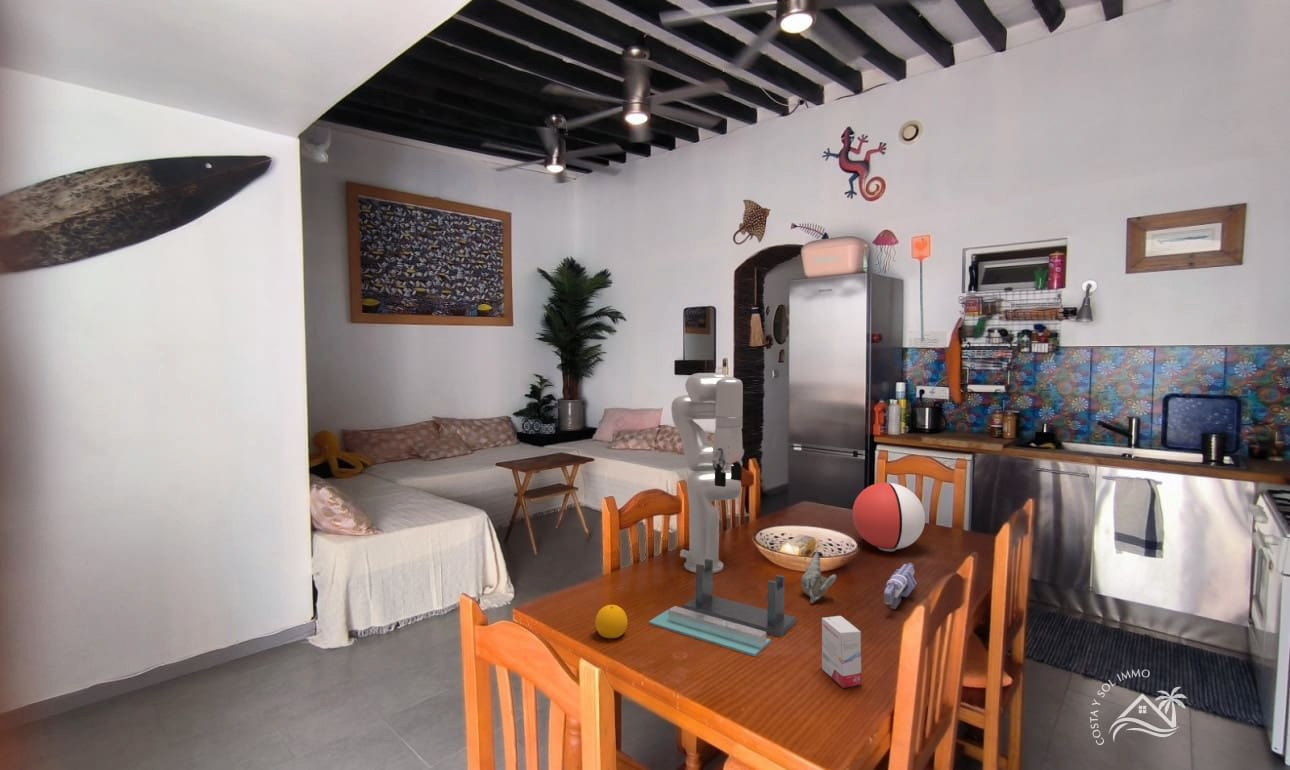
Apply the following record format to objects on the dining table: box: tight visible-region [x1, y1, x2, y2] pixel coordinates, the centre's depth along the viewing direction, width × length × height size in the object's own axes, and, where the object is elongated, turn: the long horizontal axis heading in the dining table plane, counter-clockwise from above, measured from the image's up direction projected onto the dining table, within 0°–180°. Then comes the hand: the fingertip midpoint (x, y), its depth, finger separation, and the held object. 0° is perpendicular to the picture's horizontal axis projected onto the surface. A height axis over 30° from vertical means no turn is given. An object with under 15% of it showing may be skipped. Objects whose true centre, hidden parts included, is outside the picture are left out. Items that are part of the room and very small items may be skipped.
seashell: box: [800, 551, 837, 604], centre depth 180 cm, size 10×17×10 cm, turn 146°
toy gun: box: [883, 562, 918, 610], centre depth 176 cm, size 7×28×8 cm, turn 145°
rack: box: [683, 559, 797, 638], centre depth 166 cm, size 28×10×12 cm, turn 55°
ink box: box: [821, 615, 863, 689], centre depth 135 cm, size 9×5×12 cm, turn 13°
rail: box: [667, 605, 767, 649], centre depth 156 cm, size 26×3×3 cm, turn 55°
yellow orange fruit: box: [594, 604, 628, 639], centre depth 155 cm, size 8×8×8 cm
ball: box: [852, 482, 926, 552], centre depth 221 cm, size 24×24×23 cm
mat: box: [648, 609, 772, 658], centre depth 157 cm, size 30×9×1 cm, turn 55°
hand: (728, 482), depth 176 cm, fingers open, 9 cm apart
